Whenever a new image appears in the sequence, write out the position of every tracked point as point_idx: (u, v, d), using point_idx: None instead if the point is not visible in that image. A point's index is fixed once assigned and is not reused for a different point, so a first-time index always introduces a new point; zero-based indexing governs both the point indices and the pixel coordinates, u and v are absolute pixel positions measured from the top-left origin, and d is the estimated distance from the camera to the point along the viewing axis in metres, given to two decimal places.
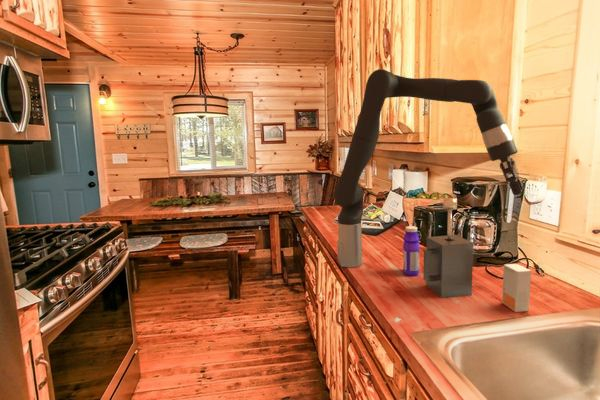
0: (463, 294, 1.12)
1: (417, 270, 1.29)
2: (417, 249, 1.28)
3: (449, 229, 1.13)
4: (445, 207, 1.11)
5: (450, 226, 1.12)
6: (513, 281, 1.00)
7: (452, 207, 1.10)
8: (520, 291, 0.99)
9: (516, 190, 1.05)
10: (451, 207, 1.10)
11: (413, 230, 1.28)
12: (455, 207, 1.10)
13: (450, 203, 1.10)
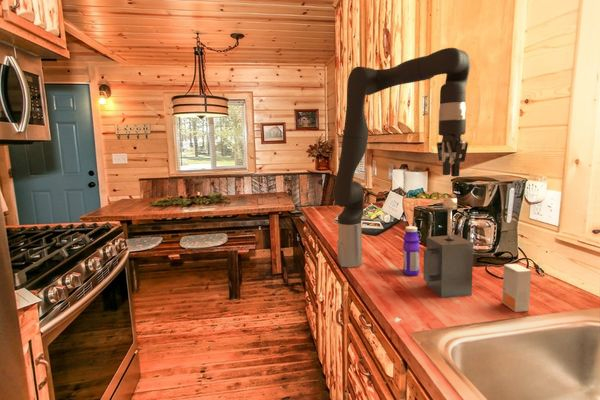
0: (463, 294, 1.12)
1: (417, 270, 1.29)
2: (417, 249, 1.28)
3: (449, 229, 1.13)
4: (445, 207, 1.11)
5: (450, 226, 1.12)
6: (513, 281, 1.00)
7: (452, 207, 1.10)
8: (520, 291, 0.99)
9: (457, 172, 1.07)
10: (451, 207, 1.10)
11: (413, 230, 1.28)
12: (455, 207, 1.10)
13: (450, 203, 1.10)
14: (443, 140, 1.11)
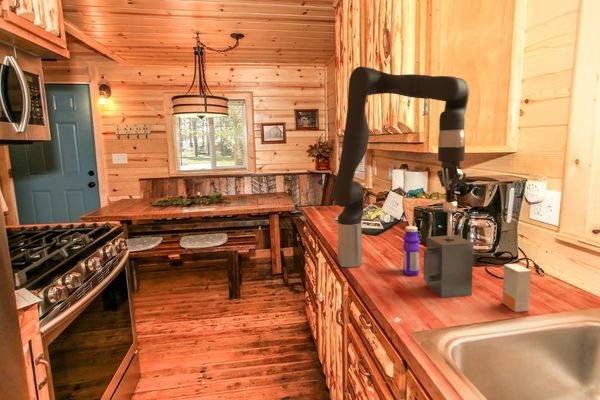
0: (463, 294, 1.12)
1: (417, 270, 1.29)
2: (417, 249, 1.28)
3: (449, 232, 1.13)
4: (445, 210, 1.11)
5: (450, 229, 1.13)
6: (513, 281, 1.00)
7: (452, 210, 1.10)
8: (520, 291, 0.99)
9: (452, 197, 1.10)
10: (451, 210, 1.10)
11: (413, 230, 1.28)
12: (455, 210, 1.10)
13: (450, 206, 1.10)
14: (442, 165, 1.13)
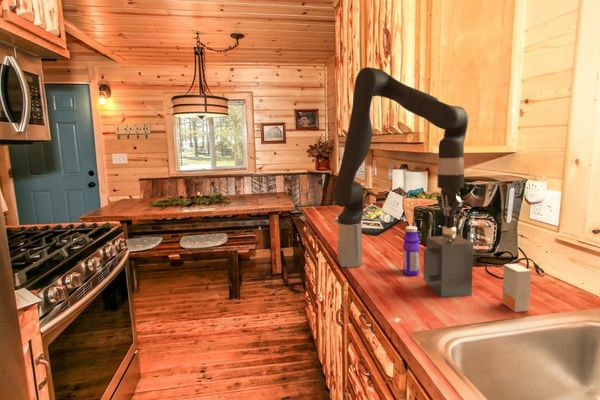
0: (463, 294, 1.12)
1: (417, 270, 1.29)
2: (417, 249, 1.28)
3: None
4: (444, 236, 1.13)
5: None
6: (513, 281, 1.00)
7: (451, 236, 1.11)
8: (520, 291, 0.99)
9: (451, 223, 1.12)
10: (450, 236, 1.11)
11: (413, 230, 1.28)
12: (454, 236, 1.12)
13: (450, 232, 1.11)
14: (442, 191, 1.14)
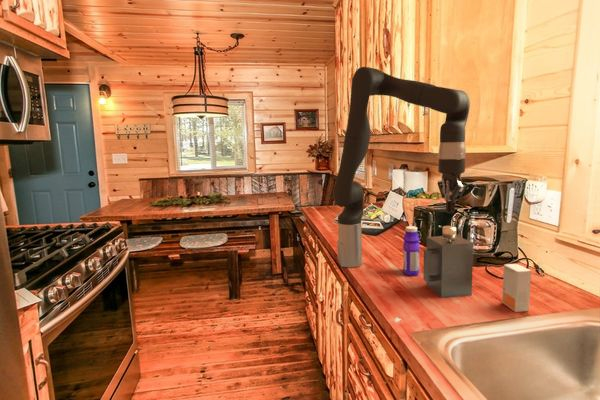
0: (463, 294, 1.12)
1: (417, 270, 1.29)
2: (417, 249, 1.28)
3: None
4: (444, 236, 1.13)
5: None
6: (513, 281, 1.00)
7: (451, 236, 1.11)
8: (520, 291, 0.99)
9: (452, 209, 1.11)
10: (450, 236, 1.11)
11: (413, 230, 1.28)
12: (454, 236, 1.12)
13: (450, 232, 1.11)
14: (443, 176, 1.13)
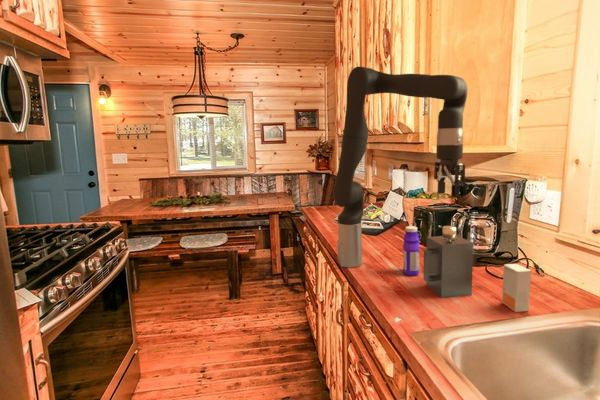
0: (463, 294, 1.12)
1: (417, 270, 1.29)
2: (417, 249, 1.28)
3: None
4: (444, 236, 1.13)
5: None
6: (513, 281, 1.00)
7: (451, 236, 1.11)
8: (520, 291, 0.99)
9: (457, 193, 1.08)
10: (450, 236, 1.11)
11: (413, 230, 1.28)
12: (454, 236, 1.12)
13: (450, 232, 1.11)
14: (441, 164, 1.14)
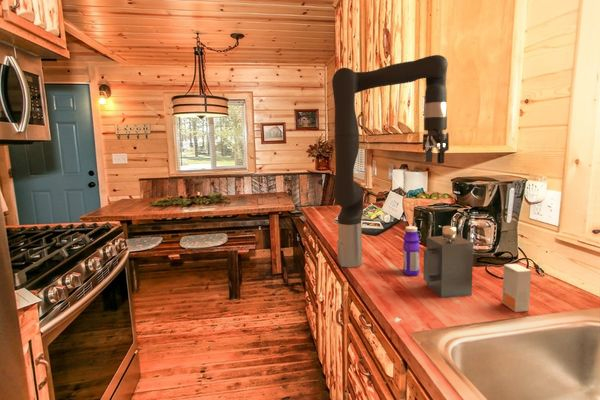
0: (463, 294, 1.12)
1: (417, 270, 1.29)
2: (417, 249, 1.28)
3: None
4: (444, 236, 1.13)
5: None
6: (513, 281, 1.00)
7: (451, 236, 1.11)
8: (520, 291, 0.99)
9: (442, 159, 1.23)
10: (450, 236, 1.11)
11: (413, 230, 1.28)
12: (454, 236, 1.12)
13: (450, 232, 1.11)
14: (428, 135, 1.29)
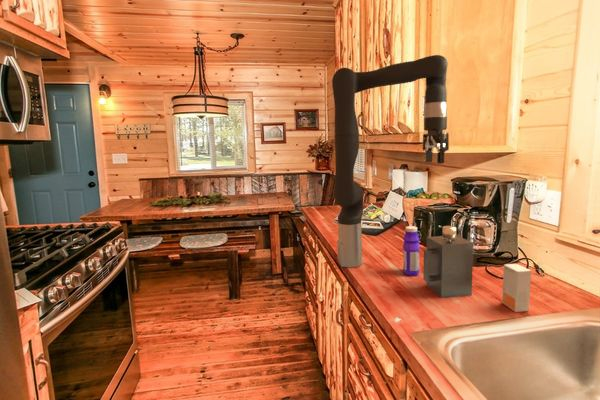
0: (463, 294, 1.12)
1: (417, 270, 1.29)
2: (417, 249, 1.28)
3: None
4: (444, 236, 1.13)
5: None
6: (513, 281, 1.00)
7: (451, 236, 1.11)
8: (520, 291, 0.99)
9: (442, 159, 1.23)
10: (450, 236, 1.11)
11: (413, 230, 1.28)
12: (454, 236, 1.12)
13: (450, 232, 1.11)
14: (428, 135, 1.29)
